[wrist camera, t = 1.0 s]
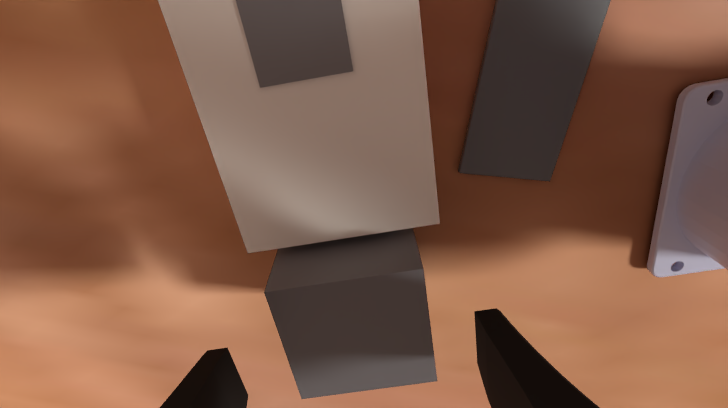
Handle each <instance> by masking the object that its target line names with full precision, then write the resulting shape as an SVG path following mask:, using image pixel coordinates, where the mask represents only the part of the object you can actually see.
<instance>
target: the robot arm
mask: <svg viewBox="0 0 728 408" xmlns="http://www.w3.org/2000/svg"><path fill="white" fill-rule="evenodd" d="M713 91H714V95H713V97H712V98H711V99H710V100H709V101H708V102H707V98H708V96H709V94H710V93H711V92H713ZM675 262H676V263H675ZM674 263H675V264H674ZM672 264H673V265H672ZM723 268H726V269H727V270H728V78H725V79H719V80H713V81H707V82H701V83H695V84H692V85H689V86H688V87H686V88H685V89H684V90H683V91H682V92H681V93H680V95H679V97H678V99H677V103H676V109H675V114H674V120H673V125H672V131H671V136H670V142H669V147H668V153H667V158H666V164H665V169H664V175H663V180H662V186H661V191H660V197H659V202H658V208H657V213H656V219H655V224H654V230H653V235H652V241H651V246H650V252H649V257H648V263H647V269H648V270H649V272H651V273H652V274H653V275H654V276H656V277H667V276H674V275H681V274H688V273H695V272H702V271H709V270H716V269H723ZM475 328H476V346H477V363H478V367H479V370H480V374H481V377H482V380H483V384H484V387H485V390H486V394H487V397H488V400H489V403H490V405H491V408H599V407H598V406H597V405H596V404H595V403H593V402H592V401H591V400H590V399H589V398H587V397H586V396H585V395H584V394H583V393H582V392H580V391H579V390H578V389H577V388H576V387H575V386H574V385H572V384H571V383H570V382H569V381H568V380H567V379H566V378H565V377H564V376H562V375H561V374H560V373H559V372H558V371H557V370H556V369H555V368H554V367H553V366H552V365H551V364H550V363H549V362H548V361H547V360H546V359H545V358H544V357H543V356H541V355H540V354H539V353H538V352H537V351H536V350H535V349H534V348H533V347H532V346H531V345H530V343H529V342H528V341H527V340H526V339H525V338H524V337H523V336H522V335H521V334H520V333H519V332H518V331H517V330H516V329H515V327H514V326H513V325H512V324H511V323H510V322H509V321H508V320H507V318H506V317H505V316H504V315H503V314H502V313H501V311H499V310H498V309H489V310H482V311H475ZM247 400H248V394H247V391H246V389H245V387H244V385H243V382H242V380H241V378H240V375H239V373H238V371H237V369H236V366H235V364H234V362H233V359H232V357H231V355H230V353H229V350H228V348H222V349H215V350H208V351H207V352H206V353H205V354H204V355H203V356H202V357H201V358H200V360H199V361H198V362H197V363H196V364H195V366H194V367H193V368H192V369H191V371H190V372H189V373H188V374H187V375H186V377H185V378H184V379H183V380H182V382H181V383H180V384H179V385H178V386H177V388H176V389H175V390H174V391H173V392H172V394H171V395H170V396H169V397H168V398H167V400H166V401H165V402H164V403H163V404H162V406H161V407H160V408H246V407H247Z"/></svg>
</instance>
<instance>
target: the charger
mask: <svg viewBox="0 0 728 408" xmlns="http://www.w3.org/2000/svg"><path fill="white" fill-rule="evenodd" d="M264 293H265V296H266V299H267V302H268V304H269V307H270V310H271V313H272V316H273V319H274V321H275V324H276V327H277V330H278V333H279V336H280V339H281V341H282V344H283V347H284V350H285V353H286V356H287V358H288V361H289V364H290V367H291V370H292V373H293V375H294V378H295V381H296V384H297V387H298V390H299V393H300V395H301V398H302V399H306V398H313V397H321V396H328V395H336V394H343V393H351V392H358V391H366V390H374V389H381V388H389V387H396V386H404V385H411V384H419V383H426V382H434V381H437V375H436V367H435V359H434V351H433V343H432V335H431V327H430V319H429V310H428V302H427V294H426V286H425V278H424V270H423V265H422V262H421V258H420V254H419V250H418V246H417V242H416V239H415V235H414V231H413V228H409V229H402V230H396V231H389V232H383V233H376V234H370V235H363V236H357V237H351V238H344V239H338V240H331V241H325V242H318V243H312V244H305V245H299V246H292V247H286V248H280V249H278V251H277V254H276V257H275V260H274V263H273V267H272V270H271V273H270V276H269V279H268V282H267V285H266V288H265V292H264Z"/></svg>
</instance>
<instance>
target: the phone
mask: <svg viewBox="0 0 728 408" xmlns="http://www.w3.org/2000/svg"><path fill="white" fill-rule="evenodd" d="M610 1H611V0H496V2H495V7H494V11H493V16H492V20H491V25H490V29H489V33H488V38H487V42H486V47H485V51H484V56H483V60H482V65H481V69H480V74H479V78H478V83H477V87H476V92H475V96H474V101H473V105H472V110H471V114H470V119H469V123H468V128H467V132H466V137H465V141H464V146H463V150H462V155H461V159H460V164H459V168H458V171H459V173H466V174H477V175H488V176H498V177H509V178H520V179H531V180H541V181H550V180H551V177H552V174H553V171H554V168H555V165H556V162H557V159H558V156H559V153H560V150H561V147H562V144H563V141H564V138H565V135H566V132H567V129H568V126H569V123H570V120H571V117H572V114H573V111H574V108H575V105H576V102H577V99H578V96H579V93H580V90H581V87H582V84H583V81H584V78H585V75H586V72H587V69H588V66H589V63H590V60H591V57H592V54H593V51H594V48H595V45H596V42H597V39H598V37H599V34H600V31H601V28H602V25H603V22H604V19H605V16H606V13H607V10H608V7H609V4H610Z"/></svg>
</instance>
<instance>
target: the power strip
mask: <svg viewBox="0 0 728 408" xmlns="http://www.w3.org/2000/svg"><path fill="white" fill-rule="evenodd" d="M158 2H159V5H160V8H161V10H162V13H163V16H164V19H165V22H166V25H167V27H168V30H169V33H170V36H171V39H172V41H173V44H174V47H175V50H176V53H177V56H178V58H179V61H180V64H181V67H182V70H183V72H184V75H185V78H186V81H187V84H188V86H189V89H190V92H191V95H192V98H193V101H194V103H195V106H196V109H197V112H198V115H199V117H200V120H201V123H202V126H203V129H204V131H205V134H206V137H207V140H208V143H209V146H210V148H211V151H212V154H213V157H214V160H215V162H216V165H217V168H218V171H219V174H220V176H221V179H222V182H223V185H224V188H225V191H226V193H227V196H228V199H229V202H230V205H231V207H232V210H233V213H234V216H235V219H236V222H237V224H238V227H239V230H240V233H241V236H242V238H243V241H244V244H245V247H246V250H247V252H248V253H254V252H260V251H267V250H273V249H280V248H286V247H292V246H299V245H305V244H312V243H318V242H325V241H331V240H338V239H344V238H351V237H357V236H363V235H370V234H376V233H383V232H389V231H396V230H402V229H409V228H415V227H422V226H428V225H434V224H440V218H439V208H438V197H437V187H436V176H435V166H434V155H433V144H432V134H431V123H430V113H429V102H428V91H427V81H426V70H425V60H424V49H423V38H422V28H421V17H420V7H419V0H158Z"/></svg>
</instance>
